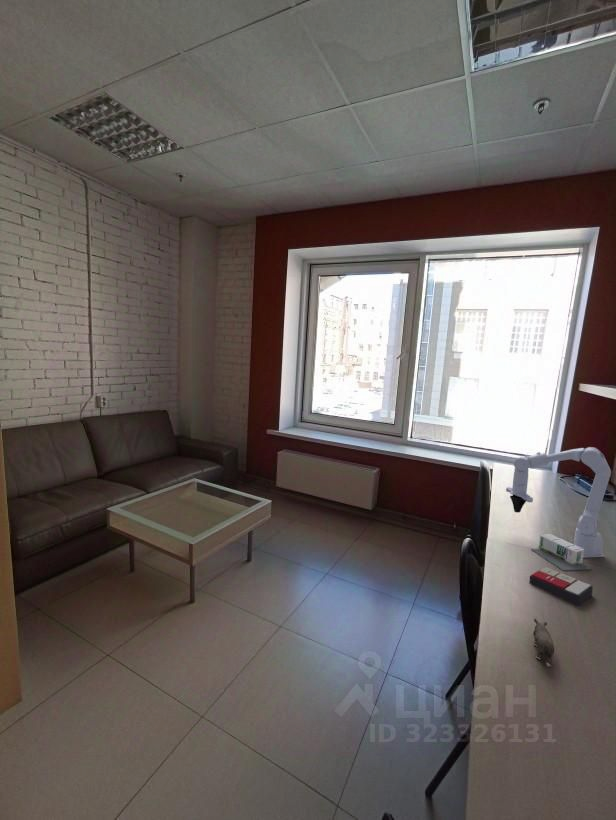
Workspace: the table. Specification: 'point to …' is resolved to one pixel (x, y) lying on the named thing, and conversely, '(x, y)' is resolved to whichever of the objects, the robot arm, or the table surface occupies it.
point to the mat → (560, 561)
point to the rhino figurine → (543, 641)
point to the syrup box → (561, 549)
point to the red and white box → (562, 585)
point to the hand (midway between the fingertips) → (517, 511)
